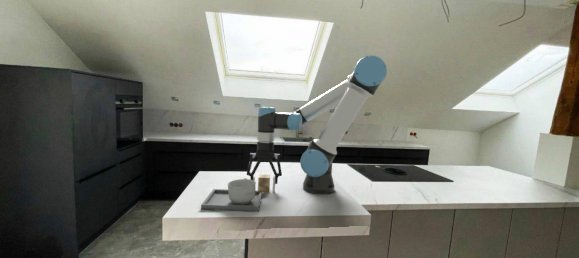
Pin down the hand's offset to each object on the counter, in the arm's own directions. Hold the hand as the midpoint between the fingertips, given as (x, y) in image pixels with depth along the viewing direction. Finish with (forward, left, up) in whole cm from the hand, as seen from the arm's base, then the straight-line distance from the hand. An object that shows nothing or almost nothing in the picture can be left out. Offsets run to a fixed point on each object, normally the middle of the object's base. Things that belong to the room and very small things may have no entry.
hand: (263, 190), depth 119 cm
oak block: (0, 0, 0) cm, 0 cm away
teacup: (+8, +14, 0) cm, 16 cm away
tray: (+11, +14, 0) cm, 18 cm away
